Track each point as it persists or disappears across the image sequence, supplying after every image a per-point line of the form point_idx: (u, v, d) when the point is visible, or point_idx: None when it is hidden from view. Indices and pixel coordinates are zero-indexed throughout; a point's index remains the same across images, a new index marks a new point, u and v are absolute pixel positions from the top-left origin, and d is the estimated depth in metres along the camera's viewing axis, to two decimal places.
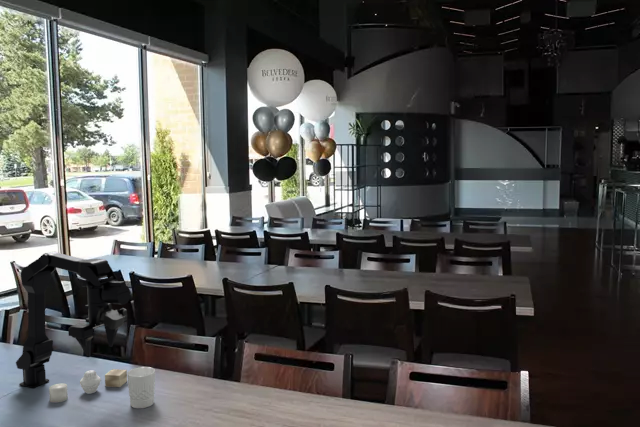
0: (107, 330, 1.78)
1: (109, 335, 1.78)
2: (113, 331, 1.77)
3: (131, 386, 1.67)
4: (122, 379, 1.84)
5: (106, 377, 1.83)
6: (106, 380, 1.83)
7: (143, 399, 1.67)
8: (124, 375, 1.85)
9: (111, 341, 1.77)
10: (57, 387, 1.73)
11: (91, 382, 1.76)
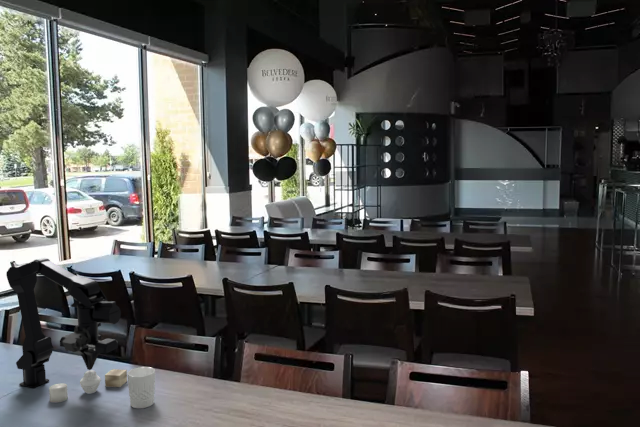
0: None
1: None
2: None
3: (131, 386, 1.67)
4: (122, 379, 1.84)
5: (106, 377, 1.83)
6: (106, 380, 1.83)
7: (143, 399, 1.67)
8: (124, 375, 1.86)
9: None
10: (57, 387, 1.73)
11: (91, 382, 1.76)
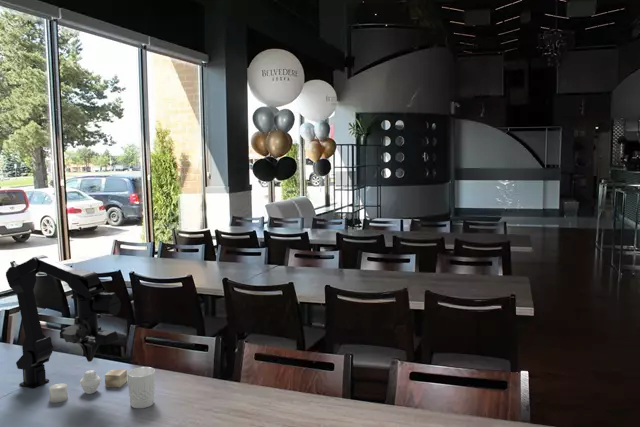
0: None
1: None
2: None
3: (131, 386, 1.67)
4: (122, 379, 1.84)
5: (106, 377, 1.83)
6: (106, 380, 1.83)
7: (143, 399, 1.67)
8: (124, 375, 1.86)
9: None
10: (57, 387, 1.73)
11: (91, 382, 1.76)
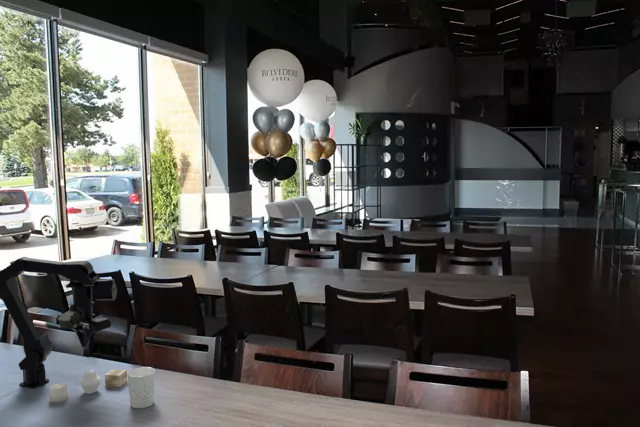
0: None
1: None
2: None
3: (131, 386, 1.67)
4: (122, 379, 1.84)
5: (106, 377, 1.83)
6: (106, 380, 1.83)
7: (143, 399, 1.67)
8: (124, 375, 1.86)
9: None
10: (57, 387, 1.73)
11: (91, 382, 1.76)
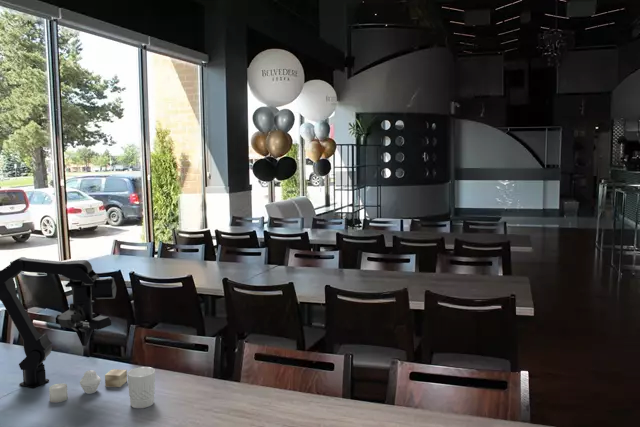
0: None
1: None
2: None
3: (131, 386, 1.67)
4: (122, 379, 1.84)
5: (106, 377, 1.83)
6: (106, 380, 1.83)
7: (143, 399, 1.67)
8: (124, 375, 1.86)
9: None
10: (57, 387, 1.73)
11: (91, 382, 1.76)
